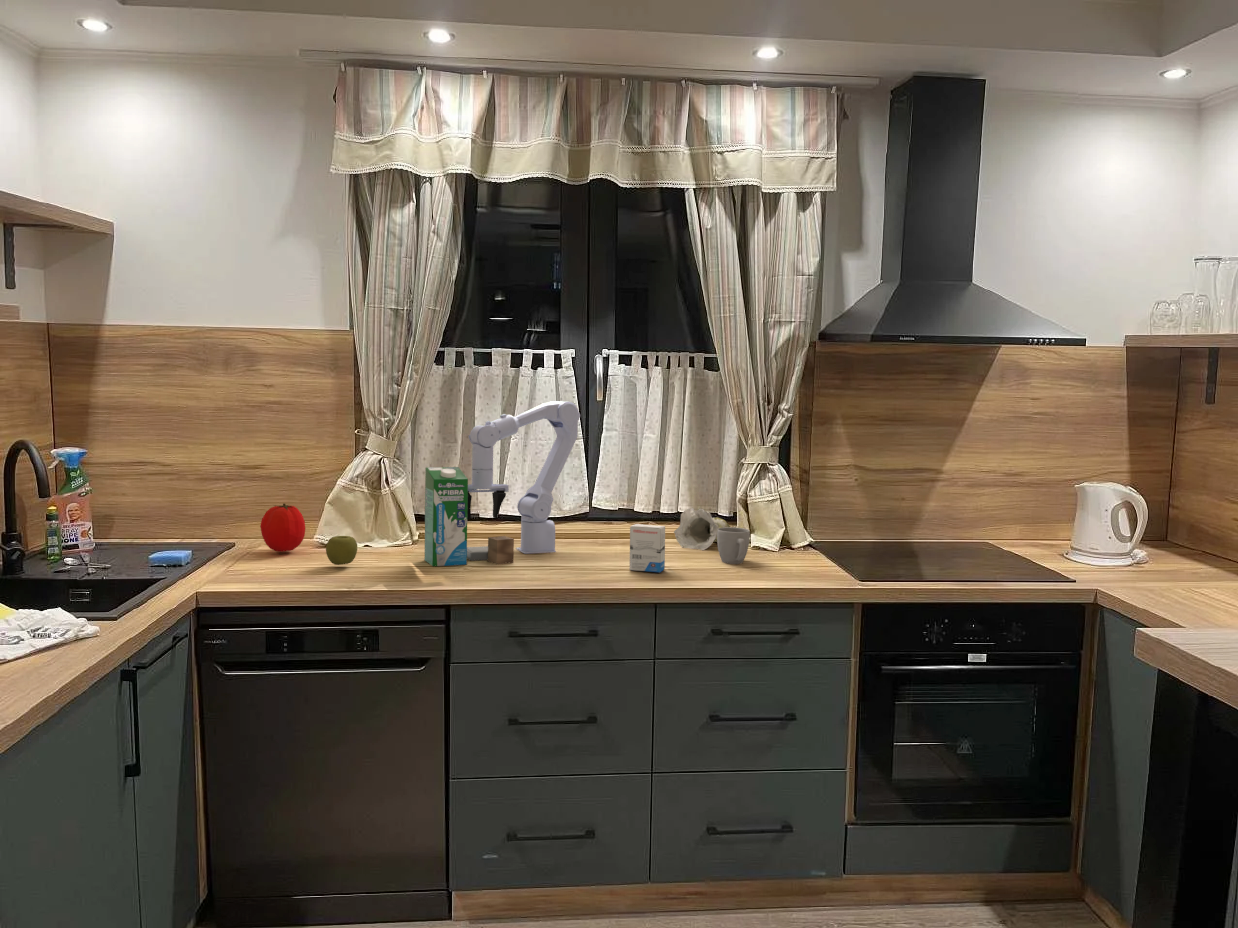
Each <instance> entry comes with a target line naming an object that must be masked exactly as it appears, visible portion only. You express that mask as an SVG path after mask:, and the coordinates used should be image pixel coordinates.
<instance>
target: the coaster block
mask: <svg viewBox="0 0 1238 928" xmlns="http://www.w3.org/2000/svg"><path fill="white" fill-rule="evenodd" d="M467 559H468V560H469V561H470V562H471V561H473V562H474V561H488V545H486V546H484V545H483V546H467Z"/></svg>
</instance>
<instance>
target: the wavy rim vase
mask: <svg viewBox="0 0 1238 928" xmlns="http://www.w3.org/2000/svg"><path fill="white" fill-rule="evenodd" d="M724 527H731V526H730V524H729V523H728V522H727V521H726V520H725V519H723V518H721V517H712V514H711V513H710V512H709V511H706V510H705V509H703V508H700V507H699V509H697V510H695V508H694V507H691V508H687V509H685V510H683V512H681V514H680V523H679V526H678V527H677V528H676V529H675V530H674V531H673V534H674V536H675V539H676V542H677V543H678V544H679V546H680V547H681V548H684V549H691V550H701V551H705V550H707V549H708V548H709V547H711V545H712V544H713V542H717V530H718V528H724Z"/></svg>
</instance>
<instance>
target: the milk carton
mask: <svg viewBox="0 0 1238 928" xmlns="http://www.w3.org/2000/svg"><path fill="white" fill-rule="evenodd" d="M424 473H425V475H424V476H425V480H424V482H425V485H424V486H425V489H424V491H425V492H424V493H425V494H424V559H423V560H424V561H425V562H426V563H428V565H430V566H432V567H433V568H434V567H449V566H464V565H467V564H468V561H467V559H468V558H467V547H468V519H467V509H468V485H469V479H468V477H467V476H466V474H464V472H463V471H462V469H460V467H458V466H456V467H455V466H452V467H451V466H450V467H449V466H447V467H446V466H444V467H441V466H440V467H439V466H437V467H436V466H434V467H433V466H431V467H425V471H424Z"/></svg>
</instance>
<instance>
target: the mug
mask: <svg viewBox="0 0 1238 928" xmlns="http://www.w3.org/2000/svg"><path fill="white" fill-rule="evenodd" d="M750 534H751V531H750V530H749V529H747V528H743V527H731V526H730V527H724V528H718V530H717V550H718V554H719V557H720V560H721V562H722V563H724V564H730V565H740V564H743V562H744V560H745V558H746V556H747V554H748V550H749V545H750V536H751V535H750Z"/></svg>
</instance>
